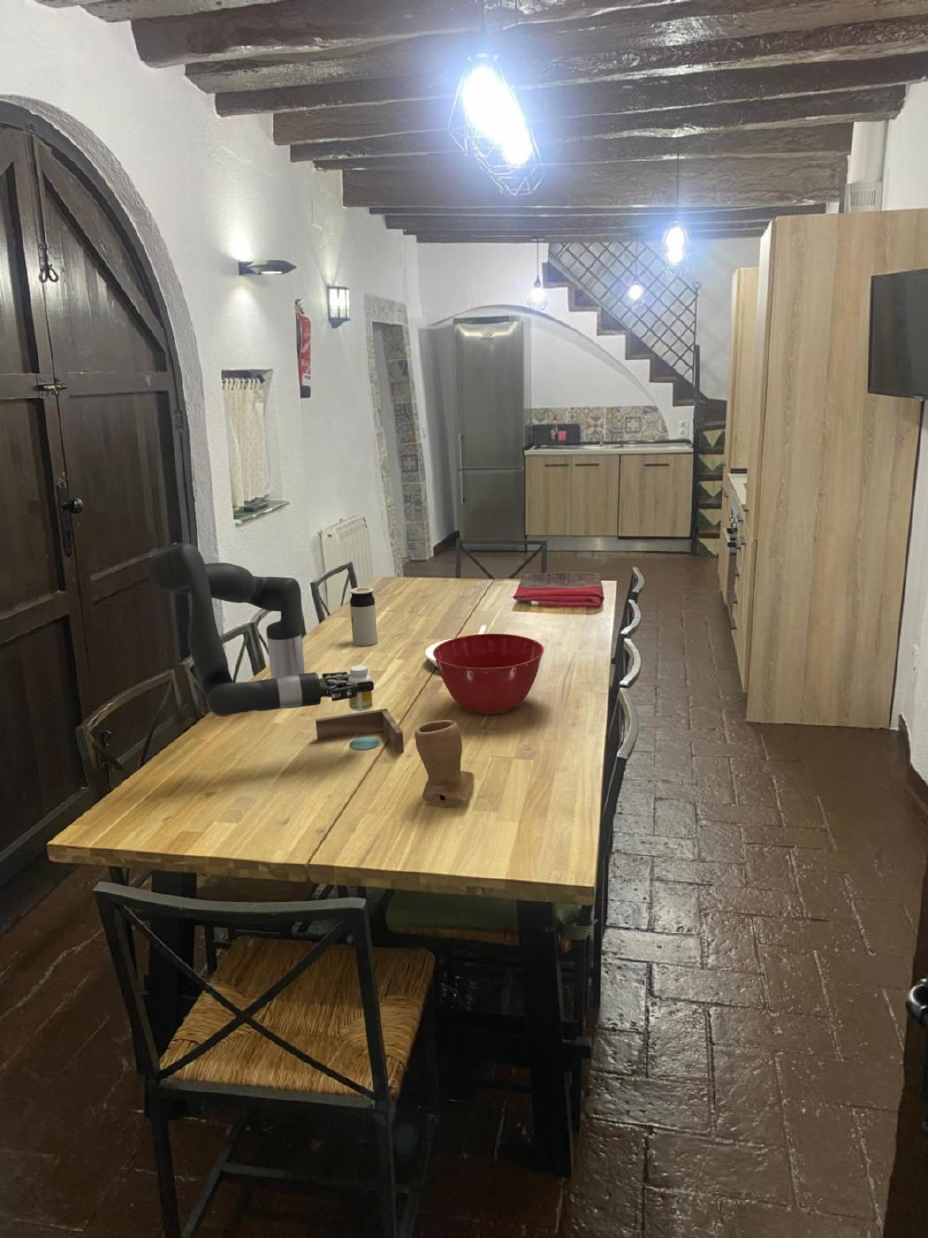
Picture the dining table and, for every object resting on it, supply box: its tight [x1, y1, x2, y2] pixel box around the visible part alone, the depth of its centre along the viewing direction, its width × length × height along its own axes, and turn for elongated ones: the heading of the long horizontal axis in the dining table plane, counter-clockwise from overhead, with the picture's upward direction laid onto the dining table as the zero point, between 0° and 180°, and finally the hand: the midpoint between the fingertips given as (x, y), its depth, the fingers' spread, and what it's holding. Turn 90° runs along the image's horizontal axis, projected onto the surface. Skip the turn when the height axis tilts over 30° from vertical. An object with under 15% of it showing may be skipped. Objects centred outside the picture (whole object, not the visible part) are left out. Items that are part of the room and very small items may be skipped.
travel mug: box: [349, 586, 378, 647], centre depth 290 cm, size 8×8×18 cm
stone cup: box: [414, 719, 475, 808], centre depth 184 cm, size 15×12×15 cm
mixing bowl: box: [433, 633, 545, 715], centre depth 232 cm, size 28×28×16 cm
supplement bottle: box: [348, 664, 373, 712], centre depth 208 cm, size 5×5×10 cm
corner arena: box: [315, 708, 405, 754], centre depth 211 cm, size 16×18×5 cm
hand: (370, 681), depth 209 cm, fingers closed on supplement bottle, 5 cm apart
